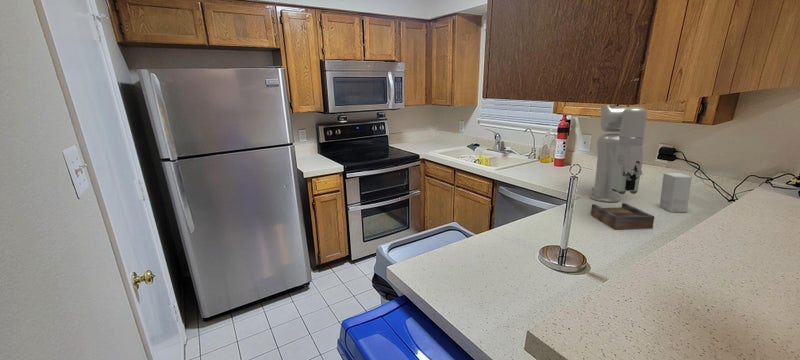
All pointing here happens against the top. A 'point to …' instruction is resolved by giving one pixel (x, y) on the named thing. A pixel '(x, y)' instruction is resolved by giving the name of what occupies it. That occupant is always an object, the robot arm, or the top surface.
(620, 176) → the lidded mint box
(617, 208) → the brown wooden tray
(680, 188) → the skincare box
